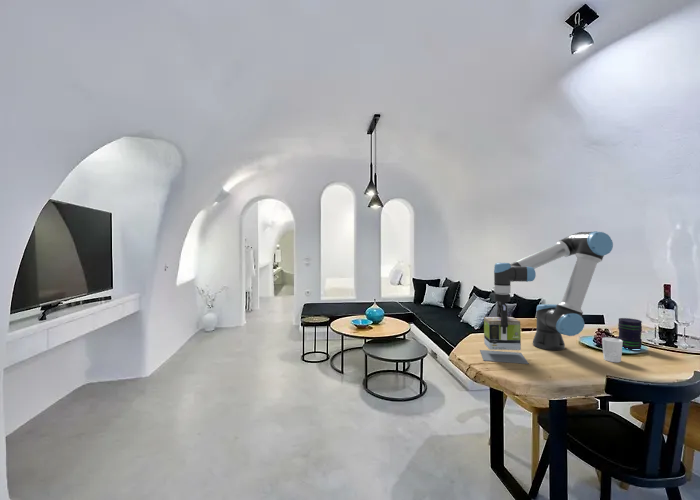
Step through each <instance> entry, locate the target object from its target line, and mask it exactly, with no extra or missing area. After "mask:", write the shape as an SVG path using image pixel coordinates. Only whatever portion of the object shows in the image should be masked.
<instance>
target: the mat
mask: <svg viewBox="0 0 700 500" xmlns="http://www.w3.org/2000/svg"><path fill="white" fill-rule="evenodd" d="M479 352H480V356H481V357H482V360H483V361H485V362H486V361H487V362H495V363H497V362H498V363H508V364H509V363H510V364H511V363H512V364H525V365H529V364H530V363H529V362H528V360H527V359H526V358H525V356H524V354H523V353H522V352H518V351H517V352H516V351H503V350H490V349H489V350H488V349H479Z"/></svg>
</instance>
